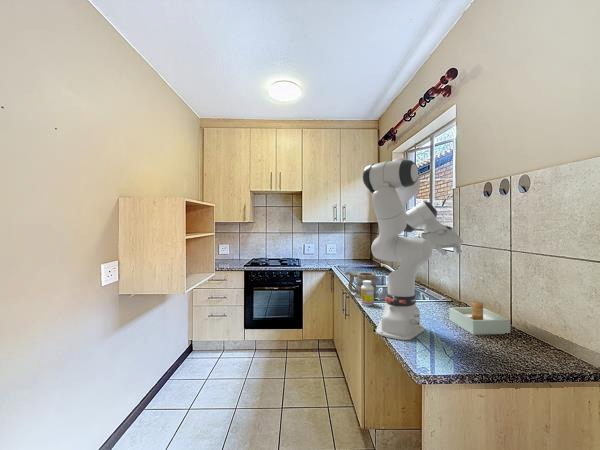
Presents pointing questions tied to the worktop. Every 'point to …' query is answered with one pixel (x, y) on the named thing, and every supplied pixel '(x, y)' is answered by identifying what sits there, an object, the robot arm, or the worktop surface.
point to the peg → (477, 311)
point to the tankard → (360, 279)
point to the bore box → (479, 321)
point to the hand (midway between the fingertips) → (452, 253)
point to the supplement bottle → (367, 293)
